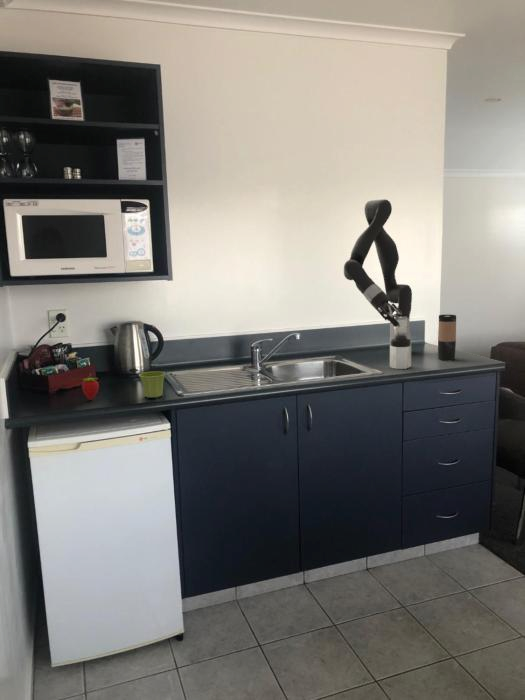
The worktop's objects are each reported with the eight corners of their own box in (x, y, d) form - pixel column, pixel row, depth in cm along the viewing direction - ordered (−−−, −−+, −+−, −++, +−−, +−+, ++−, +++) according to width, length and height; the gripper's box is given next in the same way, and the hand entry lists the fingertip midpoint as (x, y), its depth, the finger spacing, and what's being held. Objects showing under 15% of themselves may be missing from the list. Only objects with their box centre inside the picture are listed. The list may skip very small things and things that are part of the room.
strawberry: (99, 397, 207) (97, 370, 205) (100, 402, 200) (98, 374, 198) (82, 399, 205) (80, 372, 203) (83, 404, 198) (80, 376, 196)
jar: (386, 366, 244) (386, 339, 242) (401, 364, 247) (401, 337, 245) (398, 370, 236) (399, 341, 234) (414, 368, 239) (415, 340, 237)
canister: (401, 338, 243) (401, 315, 242) (409, 340, 238) (409, 316, 237) (391, 339, 241) (391, 316, 240) (399, 341, 236) (399, 317, 235)
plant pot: (142, 394, 209) (140, 371, 207) (168, 393, 209) (166, 370, 208) (138, 401, 199) (137, 377, 198) (165, 399, 200) (163, 376, 198)
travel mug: (457, 358, 256) (458, 314, 253) (452, 361, 250) (454, 316, 247) (440, 357, 261) (441, 314, 257) (435, 360, 254) (436, 316, 251)
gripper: (374, 291, 235) (400, 320, 231) (388, 289, 247) (413, 316, 242) (363, 304, 239) (388, 332, 235) (377, 301, 251) (401, 328, 246)
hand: (401, 324), depth 238 cm, fingers open, 8 cm apart
